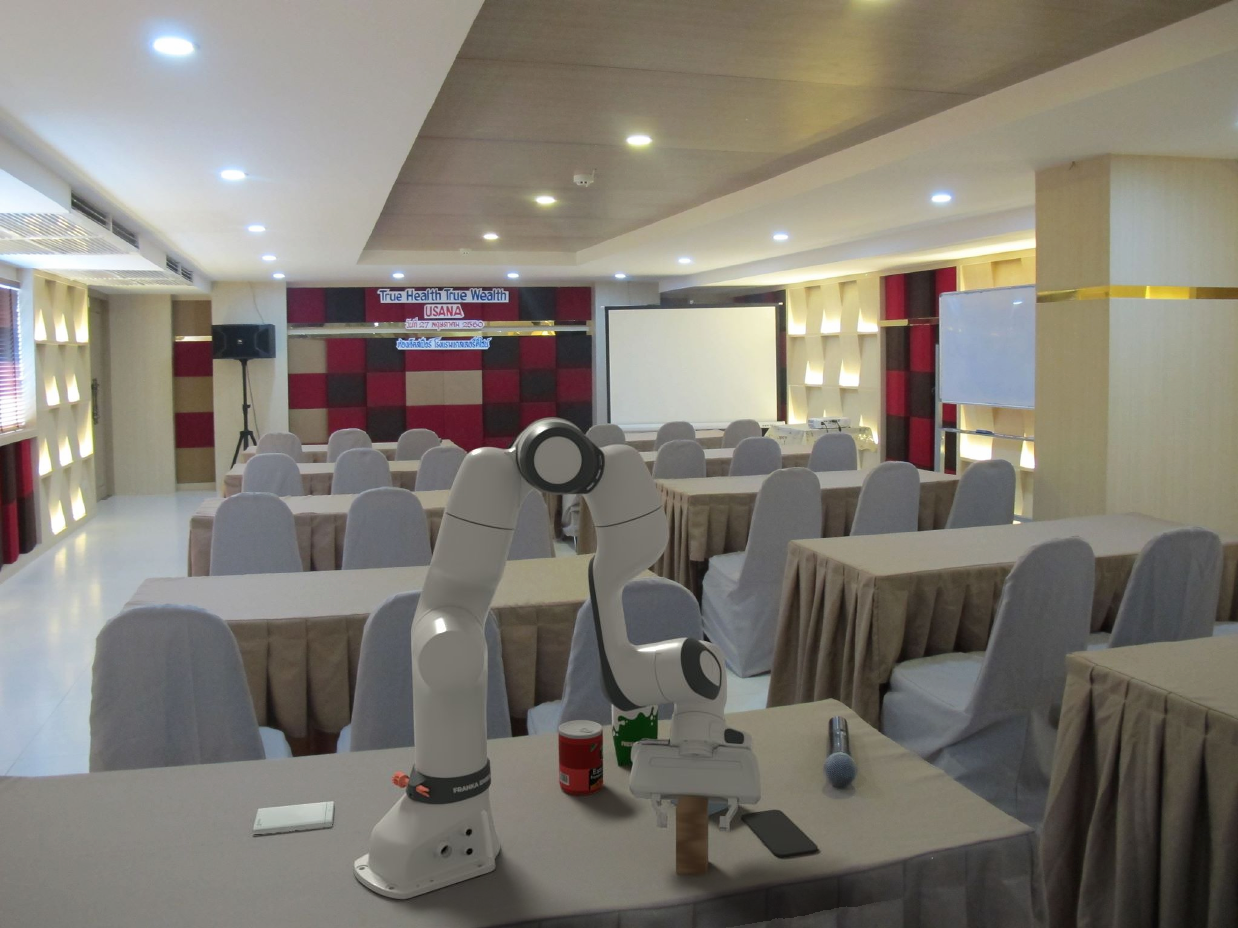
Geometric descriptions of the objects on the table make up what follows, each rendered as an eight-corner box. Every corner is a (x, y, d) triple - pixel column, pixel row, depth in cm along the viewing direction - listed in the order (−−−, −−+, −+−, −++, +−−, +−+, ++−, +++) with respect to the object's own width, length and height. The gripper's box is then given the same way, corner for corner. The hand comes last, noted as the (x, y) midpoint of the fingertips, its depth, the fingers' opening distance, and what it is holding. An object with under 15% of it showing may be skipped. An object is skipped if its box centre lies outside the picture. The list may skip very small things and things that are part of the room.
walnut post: (676, 873, 151) (675, 808, 150) (678, 858, 155) (678, 795, 154) (706, 875, 150) (706, 810, 149) (708, 860, 154) (708, 797, 153)
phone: (779, 808, 171) (821, 848, 157) (779, 813, 171) (821, 853, 157) (738, 814, 169) (777, 855, 155) (738, 819, 169) (777, 860, 155)
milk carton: (613, 767, 189) (612, 663, 187) (611, 749, 198) (610, 649, 196) (660, 766, 190) (659, 662, 187) (655, 747, 199) (655, 648, 196)
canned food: (598, 797, 177) (597, 736, 176) (554, 793, 178) (553, 733, 177) (607, 779, 184) (607, 720, 183) (565, 776, 186) (564, 718, 185)
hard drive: (252, 829, 164) (332, 819, 167) (258, 807, 172) (334, 798, 174) (252, 839, 164) (332, 829, 167) (258, 816, 172) (334, 808, 175)
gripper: (630, 729, 160) (622, 816, 151) (761, 735, 156) (760, 824, 148) (634, 746, 164) (626, 831, 156) (761, 751, 161) (760, 839, 153)
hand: (692, 828), depth 152 cm, fingers open, 8 cm apart
